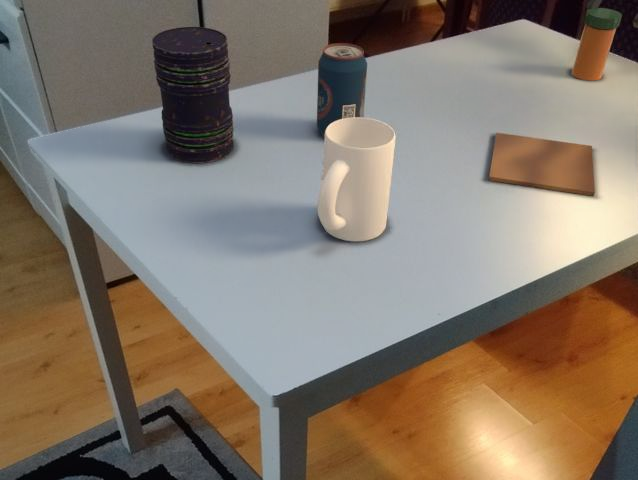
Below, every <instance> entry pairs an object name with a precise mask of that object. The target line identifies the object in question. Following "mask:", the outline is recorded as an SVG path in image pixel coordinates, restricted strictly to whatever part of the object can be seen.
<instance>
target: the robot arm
mask: <svg viewBox="0 0 638 480" xmlns="http://www.w3.org/2000/svg"><path fill="white" fill-rule="evenodd" d="M602 1H603V0H588V1H587V2H586V9H587V10H589V9H592V8H599V6H600V5H601V3H602ZM587 10H586V11H587ZM632 25H633V28H636V29H638V12H637V13H636V14H635V16H634V17H633V19H632Z"/></svg>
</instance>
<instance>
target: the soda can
mask: <svg viewBox="0 0 638 480" xmlns="http://www.w3.org/2000/svg"><path fill="white" fill-rule="evenodd" d="M317 63H318V68H317V97H316V98H317V99H316V127H317V128H318V130H319V131H320V133H321V135H322V136H324V137H325V130H326V129H327V127H328V126H329V125H330V124H331V123H333V122H335V121H337V120H340V119H344V118H353V117H361V118H365V117H364V114H365V102H366V89H367V88H366V87H367V73H368V62H367V59H366V57H365V50H364V49H363V47H361V46H359V45H356V44H353V43H346V42H339V43H338V42H337V43H331V44H327V45H326V46H324V47H323V49H322V54H321V55H320V57H319V59H318V61H317Z"/></svg>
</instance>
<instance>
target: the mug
mask: <svg viewBox="0 0 638 480" xmlns="http://www.w3.org/2000/svg"><path fill="white" fill-rule="evenodd" d="M395 146H396V133H395V130H394V129H393V127H391V126H390V125H389V124H387V123H385V122H383V121H381V120H378V119H375V118H371V117H363V118H361V117H353V118H344V119H340V120H337V121H335V122H333V123H331V124H330V125H329V126H328V127H327V129H326V130H325V136H324V144H323V158H322V160H321V164H322V165H323V169H322V170H321V175H320V180H322V183H321V185H320V189H319V192H318V197H317V215H318V218H319V221H320V223H321V225H322V227H323V228H324V230H325V232H327V234H329V235H331V236H332V237H334V238H336V239H339V240H343V241H347V242H365V241H370V240H374V239H375V238H377V237H379V236H380V235H382V234H383V232H384V231H385V230H386V227H387V222H388V221H387V220H388V212H389V210H388V209H389V203H390V202H389V201H390V193H391V185H392V184H391V183H392V175H393V166H394V158H395V157H394V156H395Z"/></svg>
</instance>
